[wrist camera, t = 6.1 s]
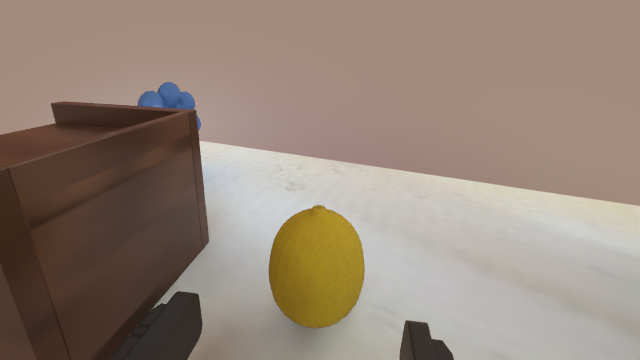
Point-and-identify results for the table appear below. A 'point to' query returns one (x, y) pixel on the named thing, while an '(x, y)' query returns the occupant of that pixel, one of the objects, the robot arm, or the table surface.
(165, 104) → the grapes
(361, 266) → the lemon
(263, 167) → the table surface
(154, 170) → the tray
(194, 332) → the robot arm
